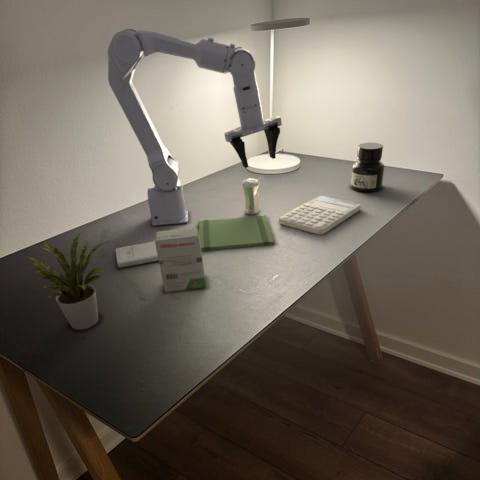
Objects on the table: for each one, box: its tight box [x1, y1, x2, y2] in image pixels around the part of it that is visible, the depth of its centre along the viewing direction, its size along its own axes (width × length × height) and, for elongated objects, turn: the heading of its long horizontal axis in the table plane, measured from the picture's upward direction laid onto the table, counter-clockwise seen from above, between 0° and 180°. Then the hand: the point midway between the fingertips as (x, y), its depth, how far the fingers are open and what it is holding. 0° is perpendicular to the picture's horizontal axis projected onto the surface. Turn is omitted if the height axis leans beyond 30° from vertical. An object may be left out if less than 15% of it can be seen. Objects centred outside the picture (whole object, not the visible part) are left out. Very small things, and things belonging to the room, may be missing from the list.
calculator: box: [278, 194, 362, 236], centre depth 117 cm, size 13×20×2 cm, turn 139°
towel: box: [198, 214, 276, 252], centre depth 112 cm, size 18×16×1 cm
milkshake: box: [241, 177, 261, 215], centre depth 120 cm, size 4×5×10 cm
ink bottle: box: [350, 142, 385, 193], centre depth 129 cm, size 10×9×12 cm
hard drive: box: [115, 240, 159, 269], centre depth 105 cm, size 2×8×12 cm
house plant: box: [25, 232, 111, 330], centre depth 81 cm, size 14×14×16 cm
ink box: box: [154, 226, 207, 293], centre depth 90 cm, size 9×5×12 cm, turn 96°
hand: (259, 162), depth 115 cm, fingers open, 7 cm apart
